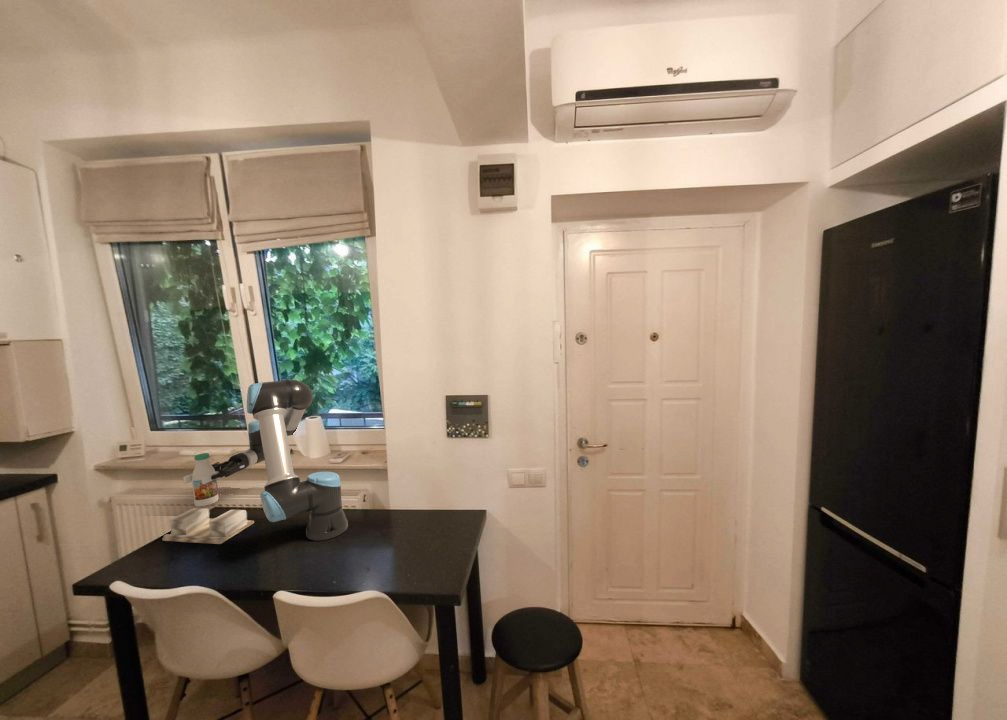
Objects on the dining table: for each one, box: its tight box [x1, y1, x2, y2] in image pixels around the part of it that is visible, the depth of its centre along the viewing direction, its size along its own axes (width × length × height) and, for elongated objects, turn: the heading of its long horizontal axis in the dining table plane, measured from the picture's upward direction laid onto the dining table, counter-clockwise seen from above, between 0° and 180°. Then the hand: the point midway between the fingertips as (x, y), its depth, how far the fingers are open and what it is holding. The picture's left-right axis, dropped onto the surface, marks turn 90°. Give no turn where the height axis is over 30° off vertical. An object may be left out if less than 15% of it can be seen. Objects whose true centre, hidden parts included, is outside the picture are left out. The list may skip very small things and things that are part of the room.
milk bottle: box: [191, 452, 219, 508], centre depth 150 cm, size 8×8×20 cm
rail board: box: [162, 507, 255, 545], centre depth 152 cm, size 26×16×7 cm, turn 81°
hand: (193, 480), depth 146 cm, fingers closed on milk bottle, 7 cm apart
